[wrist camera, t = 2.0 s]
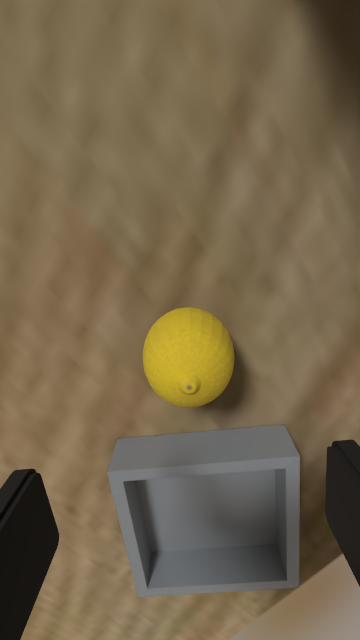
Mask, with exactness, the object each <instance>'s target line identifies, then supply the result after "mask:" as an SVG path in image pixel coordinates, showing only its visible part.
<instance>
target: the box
mask: <svg viewBox="0 0 360 640" xmlns="http://www.w3.org/2000/svg"><path fill="white" fill-rule="evenodd" d="M107 474H108V478H109V482H110V486H111V490H112V494H113V498H114V502H115V506H116V510H117V514H118V518H119V522H120V526H121V530H122V535H123V539H124V543H125V547H126V551H127V555H128V559H129V563H130V567H131V571H132V575H133V579H134V583H135V587H136V591H137V595H138V597H146V596H164V595H181V594H198V593H215V592H233V591H250V590H267V589H285V588H299V522H300V455H299V453H298V451H297V449H296V447H295V445H294V443H293V441H292V439H291V437H290V435H289V433H288V431H287V429H286V427H285V425H284V424H283V425H271V426H260V427H248V428H237V429H225V430H214V431H202V432H191V433H180V434H168V435H157V436H145V437H134V438H122V439H117V442H116V445H115V448H114V452H113V455H112V458H111V461H110V464H109V467H108V471H107Z"/></svg>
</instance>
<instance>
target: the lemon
mask: <svg viewBox="0 0 360 640" xmlns="http://www.w3.org/2000/svg"><path fill="white" fill-rule="evenodd" d="M234 359H235V356H234V348H233V343H232V340H231V338H230V335H229V333H228V331H227V329H226V328H225V327H224V325H223V324H222V323H221V322H220V320H219V319H217V318H216V317H215V316H213V315H212V314H210V313H209V312H206V311H204V310H201V309H198V308H191V307H187V308H178V309H176V310H173V311H170V312H168V313H166V314H165V315H163V316H162V317H161V318H159V319H158V320H157V321H156V323H155V324H154V325H153V326H152V327H151V329H150V331H149V333H148V335H147V337H146V339H145V344H144V349H143V364H144V371H145V374H146V376H147V379H148V382H149V384H150V385H151V387H152V388H153V389H154V391H155V392H156V394H158V395H159V396H160V397H161V398H162V399H164V400H165V401H167V402H169V403H171V404H173V405H176V406H181V407H197V406H202V405H204V404H207V403H209V402H211V401H213V400H214V399H215V398H216V397H218V396H219V395H220V394H221V393H222V392H223V390H224V389H225V388H226V386H227V385H228V383H229V380H230V378H231V376H232V373H233V367H234Z"/></svg>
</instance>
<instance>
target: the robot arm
mask: <svg viewBox="0 0 360 640" xmlns="http://www.w3.org/2000/svg"><path fill="white" fill-rule="evenodd" d="M325 512H326V518H327V521H328V524H329V526H330V528H331V530H332V532H333V534H334V536H335V538H336V540H337V542H338V544H339V546H340V548H341V550H342V552H343V554H344V556H345V558H346V560H347V561H348V564H349V566H350V568H351V570H352V572H353V574H354V576H355V578H356V580H357V582H358V584H359V586H360V447H359V445H358V444H357V443H356V442H355V441H354V440H342V441H334V442H333V443H332V447H328V448H327V471H326V508H325ZM58 542H59V532H58V529H57V525H56V522H55V519H54V516H53V513H52V509H51V506H50V503H49V500H48V497H47V493H46V490H45V487H44V484H43V481H42V477H41V475H40V474H39V473H36V471H35V470H34V469H23V470H15V471H13V473H12V474H11V475H10V476H9V478H8V479H7V480H6V482H5V483H4V485H3V486H2V487H1V489H0V640H20V639H21V636H22V634H23V631H24V629H25V626H26V624H27V621H28V619H29V616H30V614H31V611H32V609H33V606H34V604H35V601H36V599H37V596H38V594H39V591H40V589H41V586H42V584H43V581H44V579H45V576H46V574H47V571H48V569H49V566H50V564H51V561H52V559H53V556H54V554H55V551H56V549H57V546H58Z"/></svg>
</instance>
